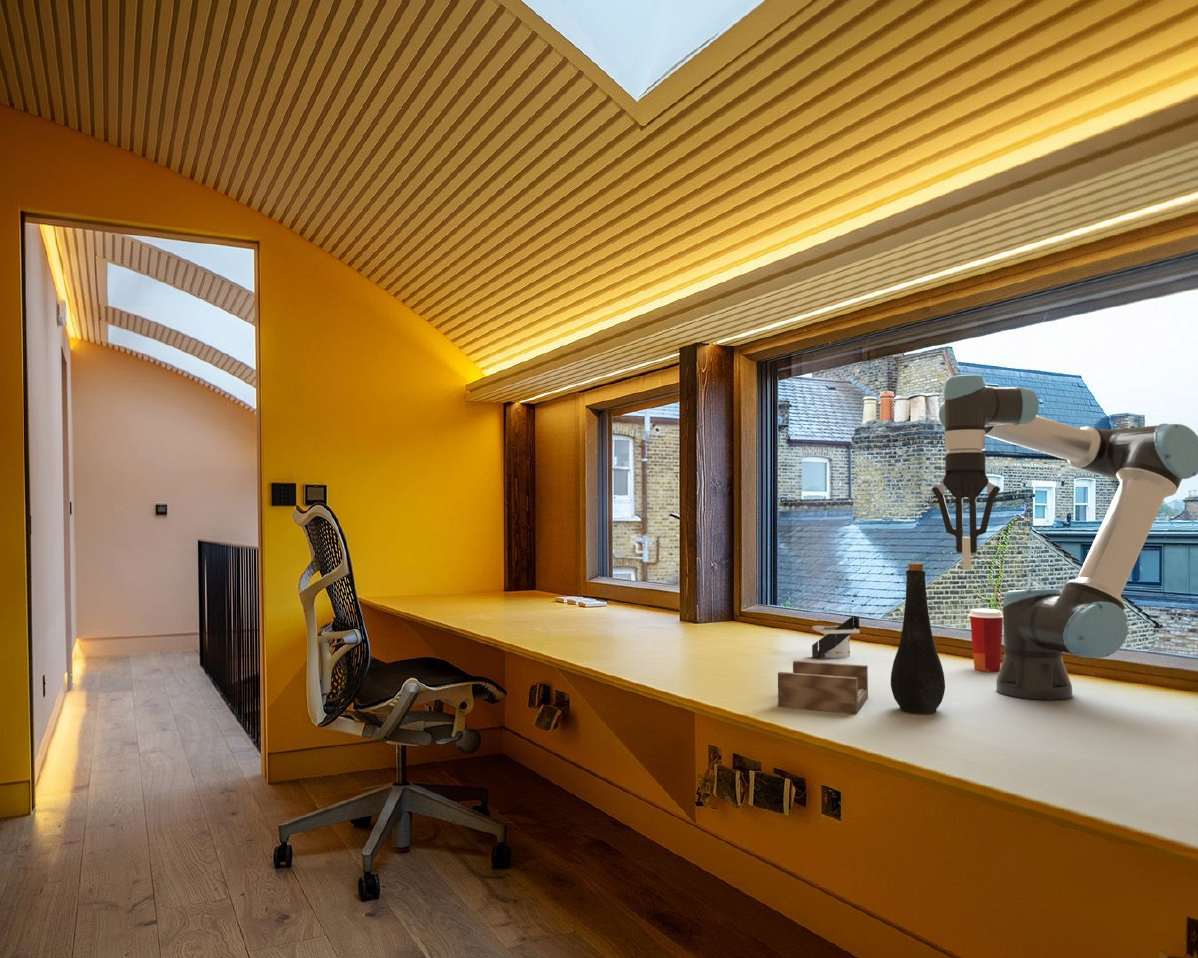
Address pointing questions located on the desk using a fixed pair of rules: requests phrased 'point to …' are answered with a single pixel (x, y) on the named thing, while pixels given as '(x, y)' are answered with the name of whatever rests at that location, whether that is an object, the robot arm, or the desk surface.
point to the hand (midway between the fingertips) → (966, 569)
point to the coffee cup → (986, 638)
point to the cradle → (824, 687)
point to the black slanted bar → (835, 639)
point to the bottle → (917, 653)
